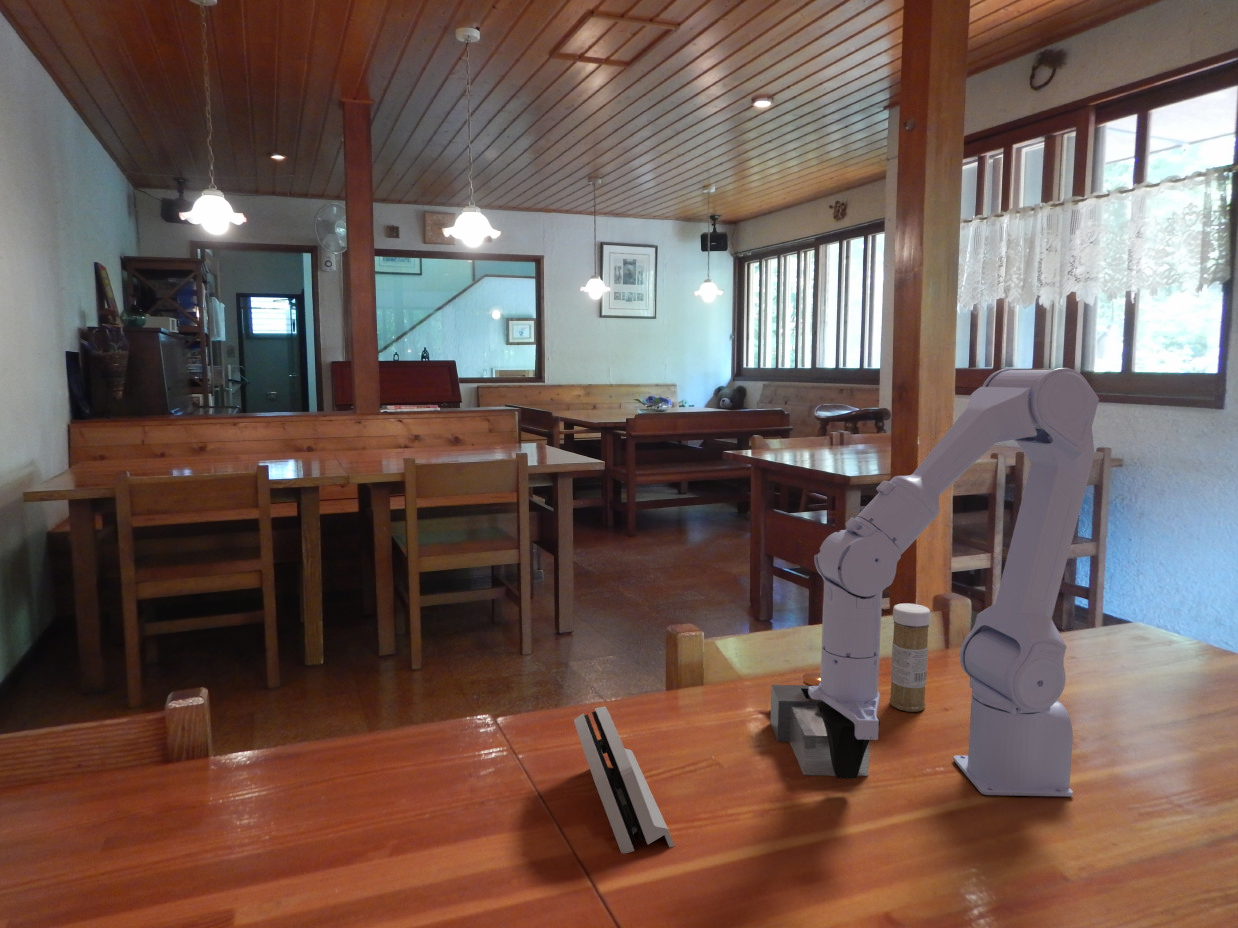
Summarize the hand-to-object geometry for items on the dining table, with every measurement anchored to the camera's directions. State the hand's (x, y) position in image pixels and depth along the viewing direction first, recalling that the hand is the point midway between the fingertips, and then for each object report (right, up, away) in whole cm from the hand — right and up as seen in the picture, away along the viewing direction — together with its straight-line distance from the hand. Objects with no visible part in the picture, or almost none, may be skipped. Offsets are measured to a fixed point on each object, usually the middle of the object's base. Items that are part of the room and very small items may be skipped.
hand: (845, 775), depth 83 cm
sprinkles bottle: (+15, 0, +22) cm, 27 cm away
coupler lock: (0, -1, +8) cm, 8 cm away
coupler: (0, 0, +14) cm, 14 cm away
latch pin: (0, +2, +14) cm, 14 cm away
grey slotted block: (-24, -2, -3) cm, 24 cm away
